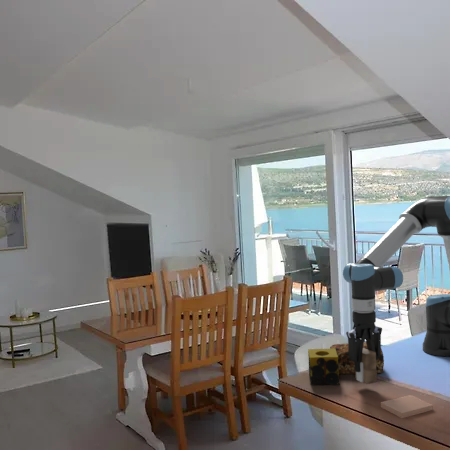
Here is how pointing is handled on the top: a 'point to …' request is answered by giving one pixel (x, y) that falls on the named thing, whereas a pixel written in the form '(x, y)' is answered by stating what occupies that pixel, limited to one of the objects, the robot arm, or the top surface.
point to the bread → (349, 366)
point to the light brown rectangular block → (368, 366)
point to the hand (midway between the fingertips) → (365, 379)
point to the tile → (406, 406)
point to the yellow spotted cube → (323, 367)
